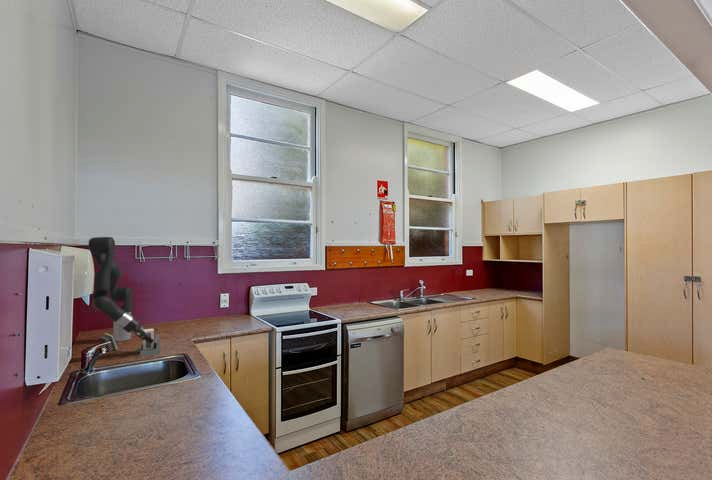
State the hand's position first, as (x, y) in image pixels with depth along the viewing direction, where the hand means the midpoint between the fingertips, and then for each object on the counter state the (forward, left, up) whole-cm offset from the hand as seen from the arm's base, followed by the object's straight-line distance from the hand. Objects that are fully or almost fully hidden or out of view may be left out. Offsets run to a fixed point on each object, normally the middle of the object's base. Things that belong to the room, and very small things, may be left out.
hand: (152, 340), depth 196 cm
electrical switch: (-14, -21, -6) cm, 26 cm away
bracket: (0, -2, -6) cm, 6 cm away
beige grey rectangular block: (0, -2, -5) cm, 5 cm away
